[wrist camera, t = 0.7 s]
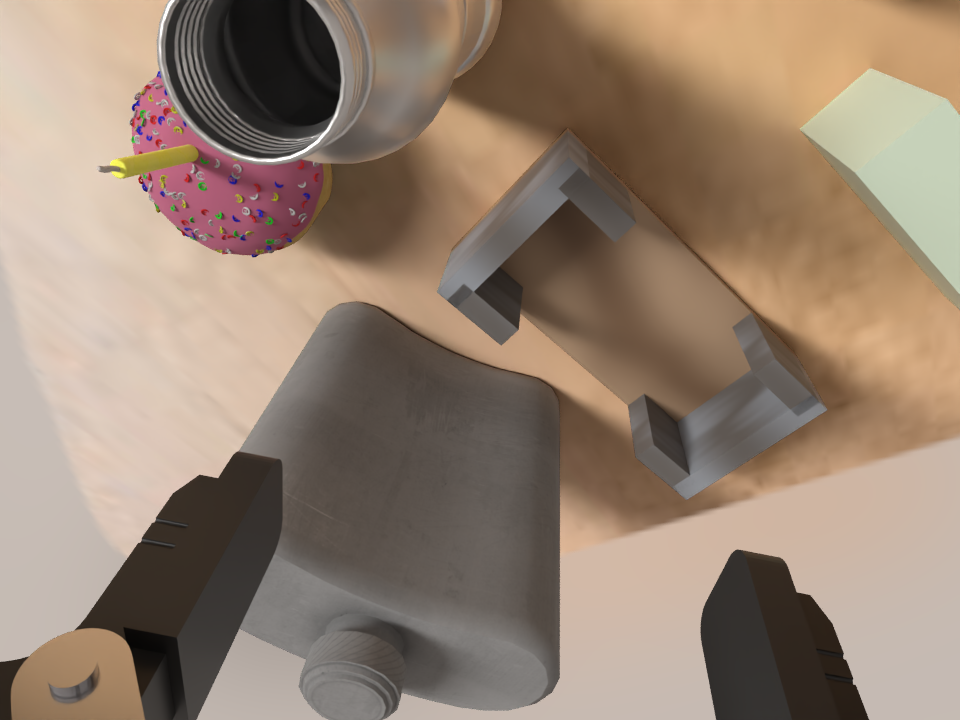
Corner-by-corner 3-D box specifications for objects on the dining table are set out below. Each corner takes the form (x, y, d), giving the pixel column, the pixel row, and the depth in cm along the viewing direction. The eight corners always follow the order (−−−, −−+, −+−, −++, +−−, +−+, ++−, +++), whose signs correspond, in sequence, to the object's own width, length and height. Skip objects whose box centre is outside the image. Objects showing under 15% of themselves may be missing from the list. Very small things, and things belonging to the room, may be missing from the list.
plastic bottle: (524, 50, 30) (477, 187, 13) (384, 94, 32) (185, 268, 15) (481, -118, 27) (353, -217, 10) (329, -60, 29) (1, -62, 12)
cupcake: (149, 107, 33) (-31, 180, 23) (275, 0, 30) (131, 30, 20) (267, 248, 37) (154, 366, 27) (390, 165, 34) (316, 261, 24)
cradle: (567, 127, 32) (569, 157, 27) (795, 353, 37) (827, 409, 32) (452, 248, 36) (436, 292, 31) (672, 439, 41) (686, 500, 36)
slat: (869, 67, 29) (946, 98, 24) (1013, 248, 33) (1113, 316, 27) (798, 128, 31) (854, 172, 25) (943, 295, 34) (1023, 368, 28)
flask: (304, 365, 40) (120, 670, 24) (334, 285, 38) (147, 569, 21) (530, 460, 43) (509, 804, 26) (575, 392, 40) (586, 730, 23)
